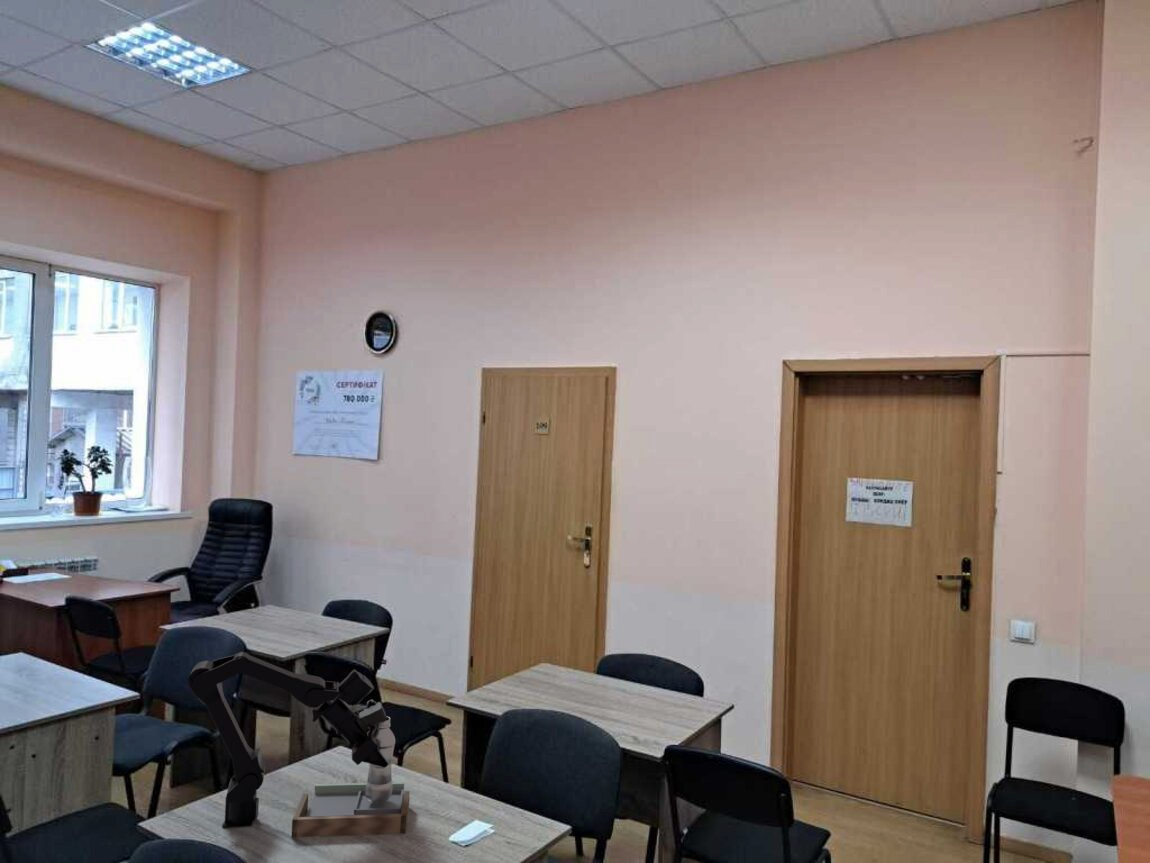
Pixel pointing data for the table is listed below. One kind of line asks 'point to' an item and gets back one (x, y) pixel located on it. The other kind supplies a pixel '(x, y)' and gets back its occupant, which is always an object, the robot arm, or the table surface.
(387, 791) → the plastic bottle
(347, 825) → the dock
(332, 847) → the table surface
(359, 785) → the tray
